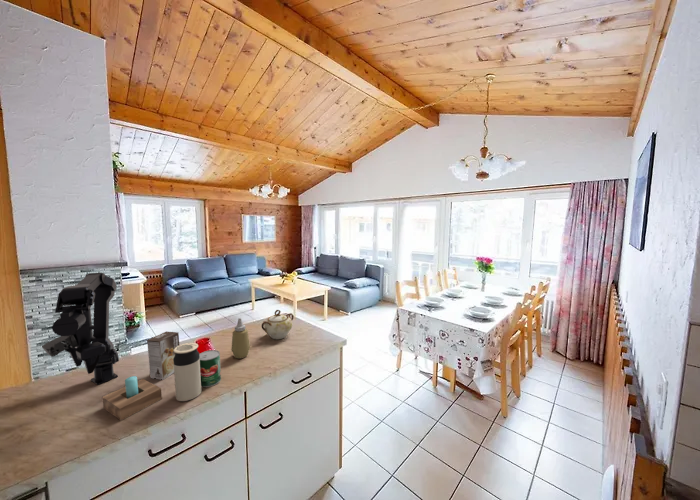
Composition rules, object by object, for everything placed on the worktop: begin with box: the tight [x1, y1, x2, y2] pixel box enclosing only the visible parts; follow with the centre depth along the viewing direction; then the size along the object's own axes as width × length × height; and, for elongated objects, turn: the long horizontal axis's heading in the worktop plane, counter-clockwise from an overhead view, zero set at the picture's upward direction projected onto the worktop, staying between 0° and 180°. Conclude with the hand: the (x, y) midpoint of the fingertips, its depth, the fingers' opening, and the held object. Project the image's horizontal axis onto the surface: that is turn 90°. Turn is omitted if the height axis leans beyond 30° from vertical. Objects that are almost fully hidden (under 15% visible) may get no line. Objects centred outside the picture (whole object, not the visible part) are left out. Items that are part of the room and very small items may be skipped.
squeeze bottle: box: [230, 317, 251, 359], centre depth 127 cm, size 8×8×18 cm
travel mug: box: [173, 342, 202, 402], centre depth 98 cm, size 8×8×18 cm
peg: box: [124, 375, 138, 399], centre depth 94 cm, size 3×3×9 cm
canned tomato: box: [199, 349, 222, 388], centre depth 107 cm, size 8×8×11 cm
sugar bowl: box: [261, 309, 295, 340], centre depth 149 cm, size 20×15×15 cm
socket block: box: [101, 378, 163, 421], centre depth 94 cm, size 12×12×4 cm
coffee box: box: [146, 331, 180, 381], centre depth 112 cm, size 9×6×16 cm
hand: (84, 369), depth 92 cm, fingers open, 9 cm apart
